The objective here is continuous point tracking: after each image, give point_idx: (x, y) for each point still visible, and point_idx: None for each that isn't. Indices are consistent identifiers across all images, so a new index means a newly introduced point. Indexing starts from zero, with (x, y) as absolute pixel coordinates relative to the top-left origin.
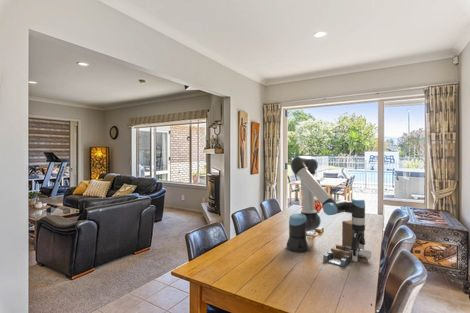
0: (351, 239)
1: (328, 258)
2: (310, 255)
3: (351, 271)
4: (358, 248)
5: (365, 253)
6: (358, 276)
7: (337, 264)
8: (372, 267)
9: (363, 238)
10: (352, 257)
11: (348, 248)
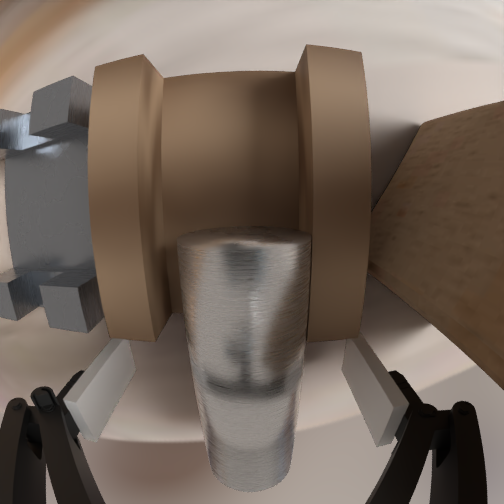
0: (461, 326)
1: (10, 152)
2: (71, 5)
3: (21, 341)
4: (251, 426)
5: (209, 459)
6: (16, 376)
7: (11, 243)
8: (173, 433)
9: (432, 497)
10: (103, 350)
11: (191, 301)
